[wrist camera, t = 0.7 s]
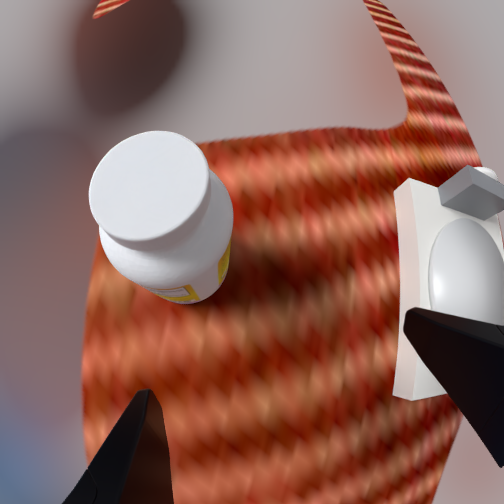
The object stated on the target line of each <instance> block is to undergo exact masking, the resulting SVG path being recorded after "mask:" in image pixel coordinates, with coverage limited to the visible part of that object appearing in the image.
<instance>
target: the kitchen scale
mask: <svg viewBox="0 0 504 504" xmlns="http://www.w3.org/2000/svg"><path fill="white" fill-rule="evenodd" d="M394 198H395V206H396V216H397V227H398V240H399V258H400V322H399V340H398V353H397V363H396V373H395V381H394V388H393V395H394V396H397V397H400V398H404V399H407V400H411V401H413V400H418V399H423V398H428V397H433V396H438V395H442V394H446V393H447V392H446V391H445V390H444V388H443V387H442V386H441V384H440V383H439V382H438V381H437V379H436V378H435V377H434V376H433V374H432V373H431V372H430V371H429V369H428V368H427V367H426V366H425V364H424V363H423V362H422V360H421V359H420V357H419V356H418V354H417V352H416V351H415V349H414V348H413V346H412V345H411V343H410V342H409V340H408V339H407V337H406V336H405V334H404V332H403V325H404V319H405V313H406V311H407V310H409V309H411V308H413V307H419V308H423V309H428V310H432V311H437V312H441V313H446V314H450V315H455V316H459V317H464V318H469V319H473V320H478V321H483V322H487V323H492V324H495V325H496V324H497V325H502V326H504V249H503V243H502V236H501V231H500V225H499V220H498V216H497V213H499V212H501V211H503V210H504V185H503V184H501V183H500V182H498V178H497V175H496V173H495V172H494V171H493V170H491V169H489V168H485V167H474V168H473V167H471V166H469V165H467V166H466V167H464V168H463V169H462V170H460V171H459V172H458V173H457V174H455V175H454V176H453V177H451V178H450V179H449V180H447V181H446V182H445V183H444V184H442V185H441V186H440V187H438V188H437V187H434V186H431V185H428V184H425V183H422V182H420V181H417V180H414V179H411V178H409V179H407V180H406V181H405V182H404V183H403V184H402V185H401V186H399V187H398V188H397V189H396V190H395V191H394Z"/></svg>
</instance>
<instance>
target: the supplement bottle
mask: <svg viewBox="0 0 504 504" xmlns="http://www.w3.org/2000/svg"><path fill="white" fill-rule="evenodd" d="M89 202H90V208H91V212H92V214H93V216H94V218H95V220H96V222H97V223H98V224H99V233H100V239H101V243H102V246H103V249H104V251H105V253H106V255H107V257H108V259H109V260H110V262H111V263H112V264H113V266H114V267H115V268H116V269H117V270H118V271H119V272H120V273H121V274H122V275H124V276H125V277H126V278H128V279H130V280H131V281H133V282H135V283H137V284H138V285H140V286H142V287H144V288H146V289H147V290H149V291H151V292H153V293H155V294H156V295H158V296H160V297H162V298H164V299H166V300H168V301H171V302H175V303H180V304H190V303H196V302H199V301H202V300H204V299H206V298H208V297H209V296H211V295H212V294H213V293H214V292H215V291H216V290H217V289H218V288H219V287H220V286H221V284H222V282H223V281H224V279H225V276H226V274H227V270H228V265H229V256H230V245H231V236H232V228H233V208H232V203H231V199H230V196H229V194H228V191H227V189H226V187H225V186H224V184H223V183H222V181H221V180H220V179H219V178H218V177H217V176H216V174H215V173H213V172H212V171H211V170H210V169H209V166H208V163H207V160H206V158H205V156H204V154H203V152H202V151H201V150H200V149H199V147H198V146H197V145H196V144H195V143H193V142H192V141H191V140H189V139H187V138H186V137H184V136H182V135H179V134H177V133H173V132H168V131H151V132H145V133H141V134H138V135H135V136H132V137H130V138H127V139H125V140H124V141H122V142H120V143H119V144H117V145H116V146H115V147H113V148H112V149H111V150H110V151H109V152H108V153H107V154H106V155H105V156H104V158H103V159H102V160H101V162H100V163H99V165H98V166H97V168H96V170H95V172H94V174H93V176H92V179H91V183H90V189H89Z"/></svg>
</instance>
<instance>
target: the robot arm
mask: <svg viewBox="0 0 504 504" xmlns="http://www.w3.org/2000/svg"><path fill="white" fill-rule="evenodd" d="M403 332H404V334H405V336H406V337H407V339H408V340H409V342H410V343H411V345H412V346H413V348H414V349H415V351H416V352H417V354H418V356H419V357H420V359H421V360H422V362H423V363H424V364H425V366H426V367H427V368H428V369H429V371H430V372H431V373H432V374H433V376H434V377H435V378H436V379H437V381H438V382H439V383H440V384H441V386H442V387H443V388H444V390H445V391H446V392H447V393H448V395H449V396H450V397H451V399H452V400H453V401H454V403H455V404H456V405H457V407H458V408H459V409H460V411H461V412H462V413H463V415H464V416H465V417H466V419H467V420H468V421H469V423H470V424H471V426H472V427H473V429H474V430H475V431H476V433H477V434H478V436H479V437H480V439H481V440H482V442H483V443H484V445H485V446H486V447H487V449H488V450H489V452H490V453H491V455H492V457H493V458H494V460H495V461H496V463H497V464H498V466H499V467H500V468H502V467H503V466H504V326H502V325H497V324H496V325H495V324H492V323H487V322H483V321H478V320H473V319H469V318H464V317H459V316H455V315H450V314H446V313H441V312H437V311H432V310H428V309H423V308H419V307H413V308H411V309H409V310H407V311H406V313H405V319H404V325H403ZM62 504H174V500H173V491H172V481H171V469H170V456H169V448H168V442H167V436H166V431H165V425H164V418H163V412H162V408H161V405H160V403H159V402H158V400H157V398H156V396H155V395H154V393H153V391H152V390H151V389H142V390H138V391H137V393H136V394H135V396H134V397H133V399H132V400H131V402H130V403H129V405H128V406H127V408H126V409H125V411H124V412H123V414H122V415H121V417H120V418H119V420H118V421H117V423H116V424H115V426H114V427H113V429H112V430H111V432H110V434H109V435H108V437H107V438H106V440H105V441H104V443H103V444H102V446H101V447H100V449H99V451H98V452H97V454H96V455H95V457H94V458H93V460H92V461H91V463H90V465H89V466H88V469H86V471H85V472H84V474H83V476H82V477H81V479H80V480H79V481H78V483H77V484H76V486H75V487H74V489H73V490H72V491H71V493H70V494H69V495H68V497H67V498H66V499H65V501H64V502H63V503H62Z"/></svg>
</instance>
